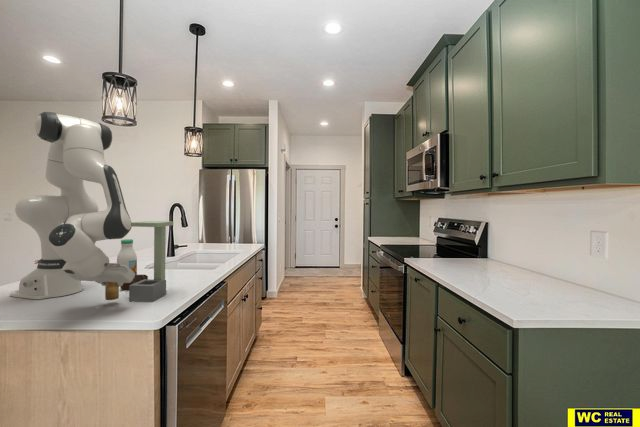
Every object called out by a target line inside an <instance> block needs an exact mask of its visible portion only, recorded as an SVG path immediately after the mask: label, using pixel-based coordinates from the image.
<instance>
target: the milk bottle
mask: <svg viewBox="0 0 640 427" xmlns="http://www.w3.org/2000/svg"><path fill="white" fill-rule="evenodd" d="M133 244H134V239H132V238H131V239H128V238H126V239H124V238H123V239H120V245H121V247H120V250H119V252H118V254H117V257H116V263H120V264H124V265H126V266H127V267H129V268H130V269H131V270H132V271H133V272H134V273H135V276H136V275H138V257H137V254H136V251H135V249H134V247H133ZM135 276H134V278H135Z"/></svg>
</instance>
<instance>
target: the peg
mask: <svg viewBox="0 0 640 427" xmlns="http://www.w3.org/2000/svg"><path fill="white" fill-rule="evenodd" d="M115 284H116V282H105V286H104V287H105V289H104V290H105V292H104V300H105V301H114V300H117V299H118V300H119V296H120V295H119V294H120V292H119V291H120V287H119V286H116V285H115Z"/></svg>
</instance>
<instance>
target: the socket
mask: <svg viewBox="0 0 640 427" xmlns="http://www.w3.org/2000/svg"><path fill="white" fill-rule="evenodd" d="M128 292H129V293H128V301H129V302H142V303H143V302H147V303H153V302H155V301H157V300H159V299H161V298H163V297H165V296H166V295H167V279H165V280H154V279H152V278H151V279H150V278H149V279H144V280H141V281H139V282H136V283H134V284H131V285H129V291H128Z"/></svg>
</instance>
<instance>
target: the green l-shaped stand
mask: <svg viewBox="0 0 640 427" xmlns="http://www.w3.org/2000/svg"><path fill="white" fill-rule="evenodd" d="M131 224H132V227H134V228H135V227H138V228H141V227H142V228H143V227H144V228H153V230H154V231H153V232H154V235H153V238H154V239H153V246H154V247H153V280H166V242H167V241H166V238H167V237H166V234H167V233H166V232H167V230H166V229H167V228H166V227H168V226H174V221H170V220H168V221H165V220H164V221H163V220H144V221H131ZM132 227H131V228H132Z"/></svg>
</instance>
